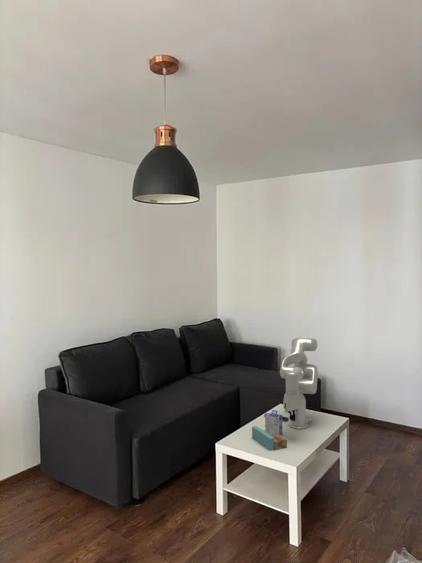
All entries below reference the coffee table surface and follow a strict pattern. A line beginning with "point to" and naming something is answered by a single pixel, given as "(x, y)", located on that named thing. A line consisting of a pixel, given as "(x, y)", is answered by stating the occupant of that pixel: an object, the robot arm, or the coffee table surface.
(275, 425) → the ink cartridge box
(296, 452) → the coffee table surface
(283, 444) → the walnut block
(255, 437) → the teal plank
